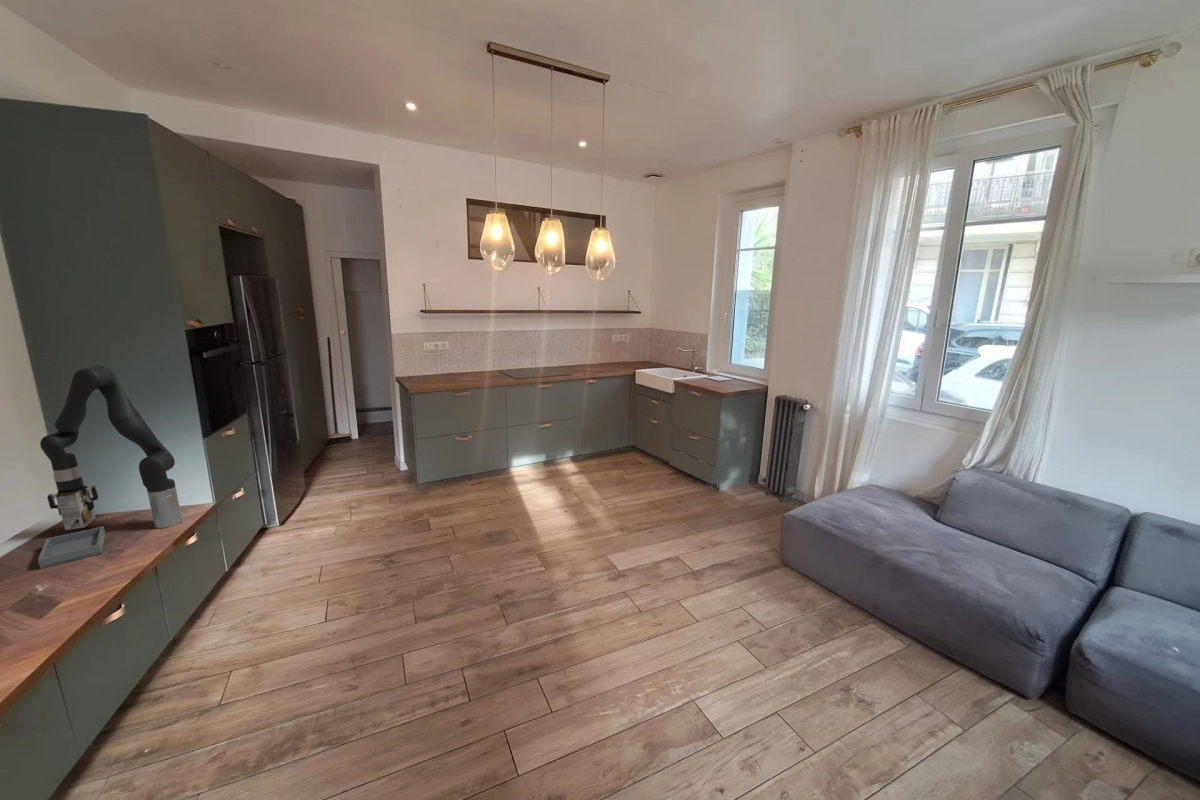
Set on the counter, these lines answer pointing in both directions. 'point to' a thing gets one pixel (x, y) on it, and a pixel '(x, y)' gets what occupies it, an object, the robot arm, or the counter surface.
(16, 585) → the counter surface
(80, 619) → the counter surface
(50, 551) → the box
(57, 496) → the coffee box
